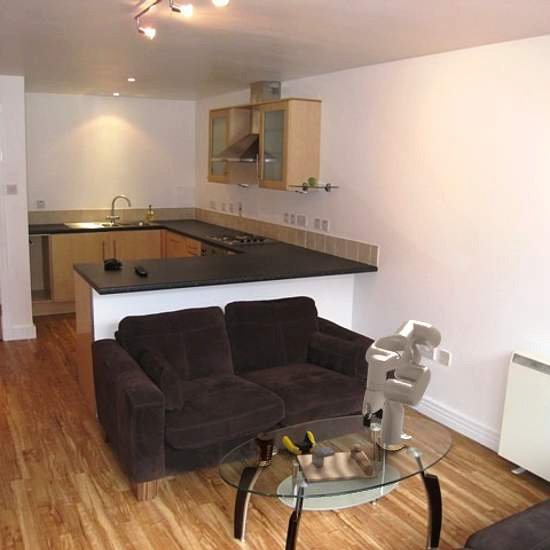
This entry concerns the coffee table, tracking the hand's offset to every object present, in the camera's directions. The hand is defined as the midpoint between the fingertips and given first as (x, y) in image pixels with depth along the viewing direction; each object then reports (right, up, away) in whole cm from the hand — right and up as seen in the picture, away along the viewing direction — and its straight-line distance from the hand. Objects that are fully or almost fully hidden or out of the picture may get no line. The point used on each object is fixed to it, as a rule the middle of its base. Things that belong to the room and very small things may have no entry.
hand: (372, 422), depth 255 cm
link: (-4, -19, +3) cm, 19 cm away
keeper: (-21, -18, +3) cm, 28 cm away
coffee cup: (-46, -18, +3) cm, 49 cm away
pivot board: (-15, -20, +3) cm, 25 cm away
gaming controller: (-30, -16, +16) cm, 37 cm away
